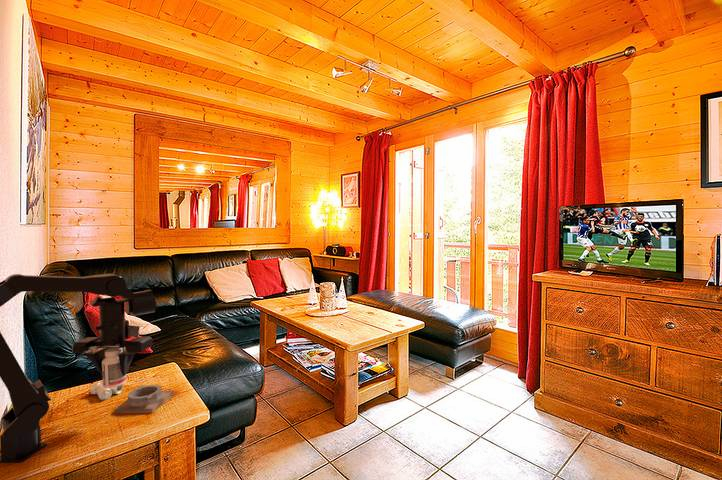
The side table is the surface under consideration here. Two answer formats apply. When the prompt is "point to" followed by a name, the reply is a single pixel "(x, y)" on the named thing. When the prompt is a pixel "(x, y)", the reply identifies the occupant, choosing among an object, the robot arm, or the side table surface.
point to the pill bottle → (112, 369)
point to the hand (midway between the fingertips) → (114, 375)
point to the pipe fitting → (105, 390)
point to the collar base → (145, 408)
